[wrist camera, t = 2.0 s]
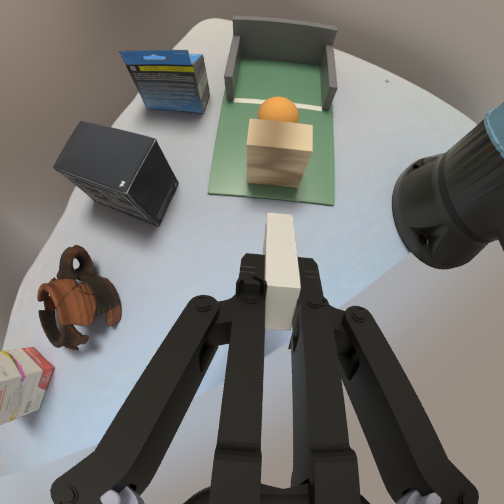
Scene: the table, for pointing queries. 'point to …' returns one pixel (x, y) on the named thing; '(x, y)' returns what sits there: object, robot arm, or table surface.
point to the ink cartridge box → (22, 382)
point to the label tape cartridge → (169, 79)
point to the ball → (278, 110)
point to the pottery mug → (76, 300)
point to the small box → (119, 170)
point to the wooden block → (278, 152)
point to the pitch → (277, 85)
